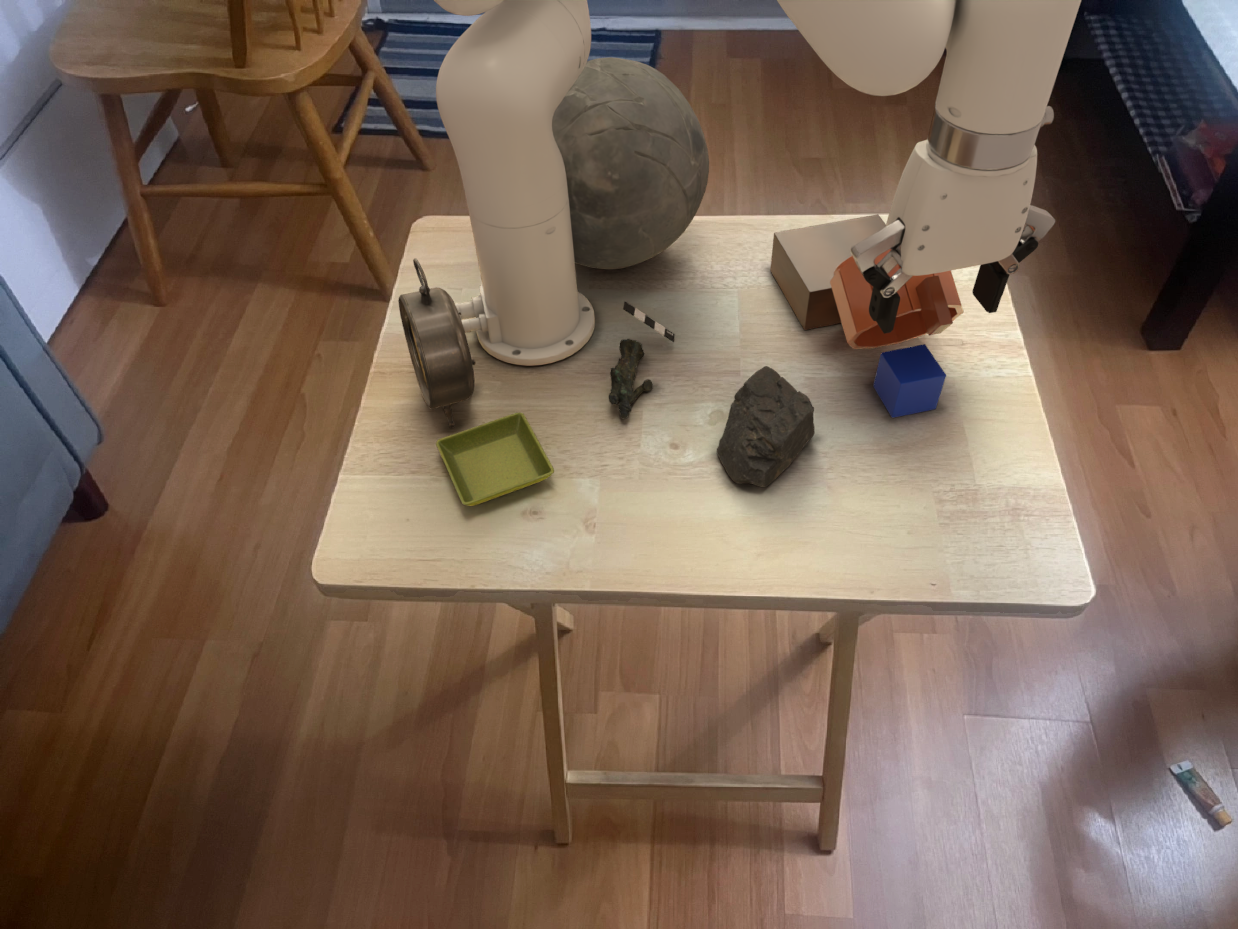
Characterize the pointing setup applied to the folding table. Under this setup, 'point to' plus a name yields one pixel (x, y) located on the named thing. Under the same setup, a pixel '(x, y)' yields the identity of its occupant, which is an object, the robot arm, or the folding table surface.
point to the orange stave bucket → (919, 313)
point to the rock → (765, 429)
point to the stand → (816, 265)
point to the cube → (909, 380)
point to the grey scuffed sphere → (628, 162)
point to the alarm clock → (437, 346)
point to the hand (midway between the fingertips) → (932, 313)
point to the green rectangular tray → (494, 459)
